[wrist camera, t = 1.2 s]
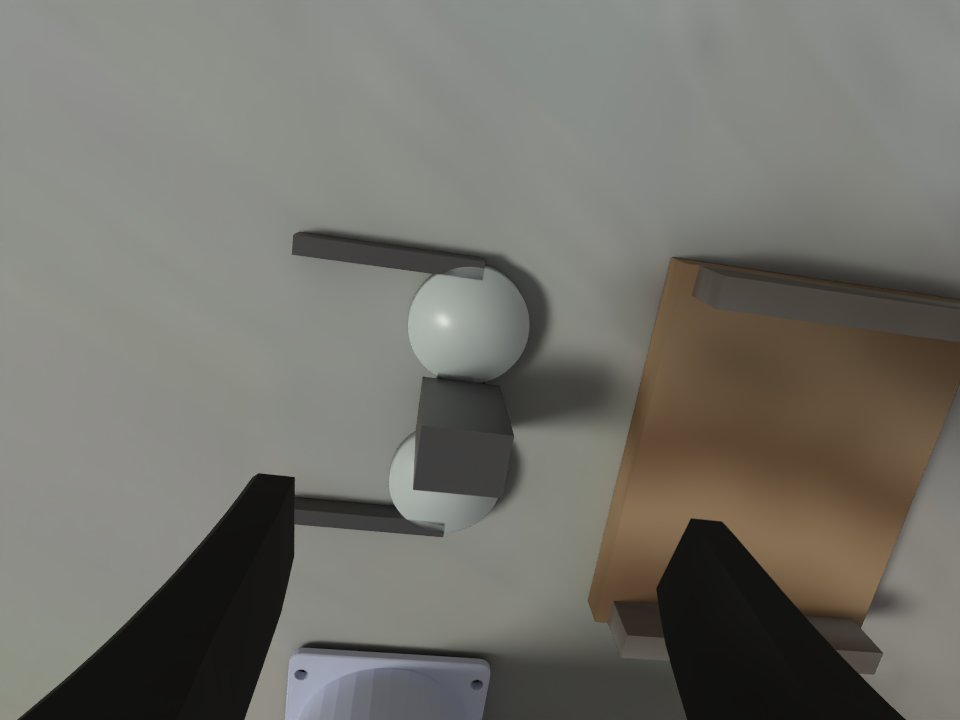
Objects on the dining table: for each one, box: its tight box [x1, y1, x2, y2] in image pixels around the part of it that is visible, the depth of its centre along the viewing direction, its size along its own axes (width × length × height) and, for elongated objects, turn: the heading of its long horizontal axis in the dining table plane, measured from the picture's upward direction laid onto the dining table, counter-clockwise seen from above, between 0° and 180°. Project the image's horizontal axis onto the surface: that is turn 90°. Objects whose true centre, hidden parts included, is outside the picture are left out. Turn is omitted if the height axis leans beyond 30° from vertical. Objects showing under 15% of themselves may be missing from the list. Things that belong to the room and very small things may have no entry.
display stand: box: [588, 258, 960, 674], centre depth 23 cm, size 14×11×3 cm
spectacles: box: [292, 232, 530, 537], centre depth 20 cm, size 10×8×5 cm
